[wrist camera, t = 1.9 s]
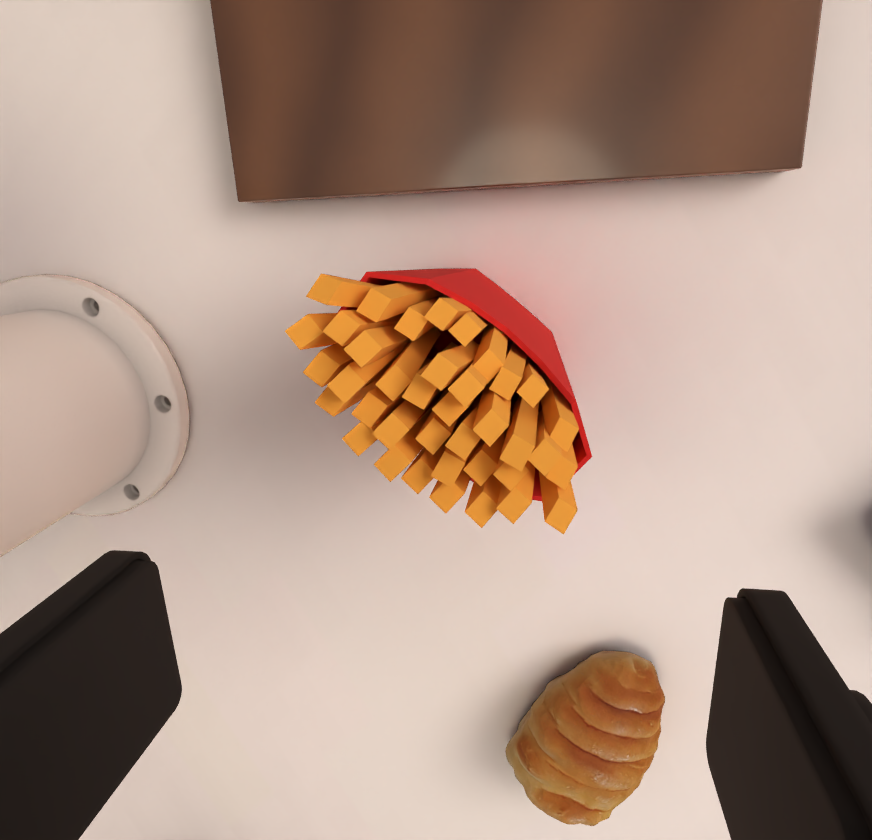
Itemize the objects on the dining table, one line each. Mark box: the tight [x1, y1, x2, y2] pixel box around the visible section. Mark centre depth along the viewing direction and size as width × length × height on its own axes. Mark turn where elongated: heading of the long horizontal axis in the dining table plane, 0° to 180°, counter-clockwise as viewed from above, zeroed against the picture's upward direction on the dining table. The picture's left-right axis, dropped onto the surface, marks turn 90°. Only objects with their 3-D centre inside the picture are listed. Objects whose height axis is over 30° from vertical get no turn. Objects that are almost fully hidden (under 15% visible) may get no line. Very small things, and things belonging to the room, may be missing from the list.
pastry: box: [506, 651, 665, 826], centre depth 31 cm, size 9×7×4 cm
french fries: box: [285, 269, 592, 534], centre depth 21 cm, size 9×4×13 cm, turn 51°
